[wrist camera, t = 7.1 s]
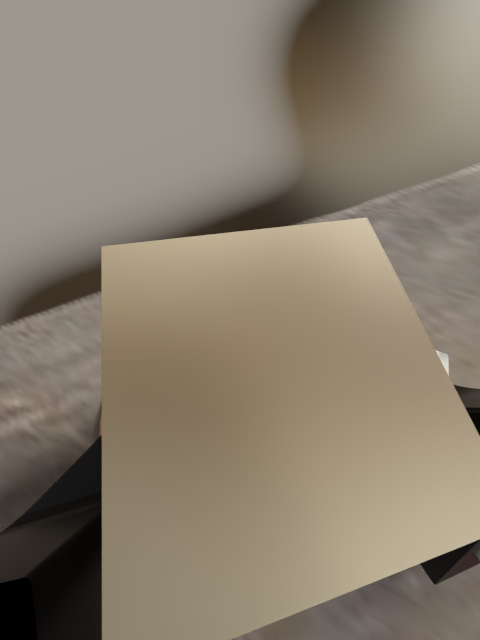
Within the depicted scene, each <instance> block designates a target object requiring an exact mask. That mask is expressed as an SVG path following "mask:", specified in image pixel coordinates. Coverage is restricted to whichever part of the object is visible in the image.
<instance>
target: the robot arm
mask: <svg viewBox="0 0 480 640" xmlns="http://www.w3.org/2000/svg"><path fill="white" fill-rule="evenodd" d="M454 387H455V389H456V391H457V393H458V395H459V397H460V399H461V401H462V403H463V405H464V407H465V409H466V411H467V412H468V414H469V416H470V418H471V420H472V422H473V424H474V426H475V428H476V430H477V432H478V434H479V436H480V389H474V388H466V387H461V386H457V385H454ZM479 563H480V539H479V540H477V541H474V542H472V543H470V544H467V545H465V546H462V547H460V548H457V549H455V550H452V551H450V552H447V553H445V554H442V555H440V556H437V557H435V558H432V559H430V560H427V561H425V562H422V563H420V564H421V566H422V567H423V569H424V570H425V572H426V573H427V575H428V576H429V578H430V579H431V580H432V582H433V583H434V584H435V585H436V584H438V583H440V582H442V581H444V580H446V579H448V578H450V577H452V576H454V575H456V574H459V573H461V572H463V571H465V570H467V569H469V568H471V567H473V566H475V565H477V564H479ZM0 640H102V434H101V436H100V437H99V438H98V439H97V440H96V441H95V442H94V443H93V444H92V446H91V447H90V448H89V449H88V450H87V451H86V452H85V453H84V454H83V455H82V456H81V457H80V458H79V459H78V460H77V461H76V462H75V463H74V464H73V465H72V466H71V467H70V468H69V469H68V470H67V471H66V472H65V473H64V474H63V475H62V476H61V477H60V478H59V479H58V480H57V481H56V482H55V483H54V484H53V485H52V486H51V487H50V488H49V489H48V490H47V491H46V492H45V493H44V494H43V495H42V496H41V497H40V498H39V499H38V500H37V501H36V502H35V503H34V504H33V505H32V506H31V507H30V508H29V509H28V510H27V511H26V512H25V513H24V514H23V515H22V516H21V517H20V518H18V519H17V520H16V521H15V522H14V523H13V524H11V525H10V526H9V527H7V528H6V529H5V530H3V531H2V532H0Z"/></svg>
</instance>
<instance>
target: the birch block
mask: <svg viewBox="0 0 480 640" xmlns="http://www.w3.org/2000/svg"><path fill="white" fill-rule="evenodd" d="M479 539H480V436H479V434H478V432H477V430H476V428H475V426H474V424H473V422H472V420H471V418H470V416H469V414H468V412H467V411H466V409H465V407H464V405H463V403H462V401H461V399H460V397H459V395H458V393H457V391H456V389H455V387H454V385H453V383H452V381H451V380H450V378H449V376H448V374H447V372H446V370H445V368H444V366H443V364H442V362H441V360H440V358H439V356H438V354H437V352H436V350H435V349H434V347H433V345H432V343H431V341H430V339H429V337H428V335H427V333H426V331H425V329H424V327H423V325H422V323H421V321H420V319H419V318H418V316H417V314H416V312H415V310H414V308H413V306H412V304H411V302H410V300H409V298H408V296H407V294H406V292H405V290H404V288H403V287H402V285H401V283H400V281H399V279H398V277H397V275H396V273H395V271H394V269H393V267H392V265H391V263H390V261H389V259H388V257H387V256H386V254H385V252H384V250H383V248H382V246H381V244H380V242H379V240H378V238H377V236H376V234H375V232H374V230H373V228H372V226H371V225H370V223H369V221H368V219H367V218H360V219H350V220H341V221H332V222H323V223H313V224H304V225H295V226H286V227H277V228H268V229H259V230H250V231H240V232H231V233H221V234H212V235H203V236H195V237H185V238H176V239H166V240H157V241H149V242H138V243H130V244H120V245H111V246H102V640H231V639H233V638H236V637H238V636H241V635H243V634H246V633H248V632H251V631H253V630H256V629H258V628H261V627H263V626H266V625H268V624H271V623H273V622H276V621H278V620H281V619H283V618H286V617H288V616H290V615H293V614H295V613H298V612H300V611H303V610H305V609H308V608H310V607H313V606H315V605H318V604H320V603H323V602H325V601H328V600H330V599H333V598H335V597H338V596H340V595H343V594H345V593H348V592H350V591H353V590H355V589H358V588H360V587H363V586H365V585H368V584H370V583H373V582H375V581H378V580H380V579H382V578H385V577H387V576H390V575H392V574H395V573H397V572H400V571H402V570H405V569H407V568H410V567H412V566H415V565H417V564H420V563H422V562H425V561H427V560H430V559H432V558H435V557H437V556H440V555H442V554H445V553H447V552H450V551H452V550H455V549H457V548H460V547H462V546H465V545H467V544H470V543H472V542H474V541H477V540H479Z"/></svg>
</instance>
